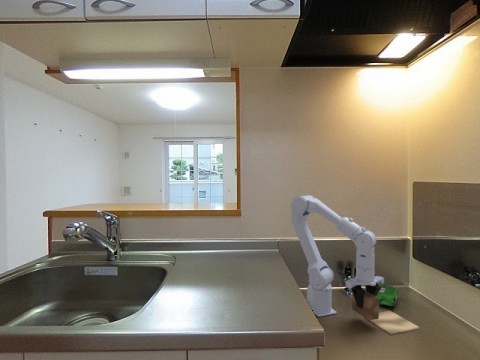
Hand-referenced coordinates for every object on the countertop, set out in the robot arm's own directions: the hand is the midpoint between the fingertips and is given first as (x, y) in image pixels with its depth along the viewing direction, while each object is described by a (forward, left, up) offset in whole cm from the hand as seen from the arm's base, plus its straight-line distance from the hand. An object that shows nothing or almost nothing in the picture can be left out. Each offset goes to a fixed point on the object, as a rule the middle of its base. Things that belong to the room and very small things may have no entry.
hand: (364, 305), depth 95 cm
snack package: (-11, +21, -7) cm, 25 cm away
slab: (0, 0, -3) cm, 3 cm away
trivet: (+2, +9, -6) cm, 11 cm away
